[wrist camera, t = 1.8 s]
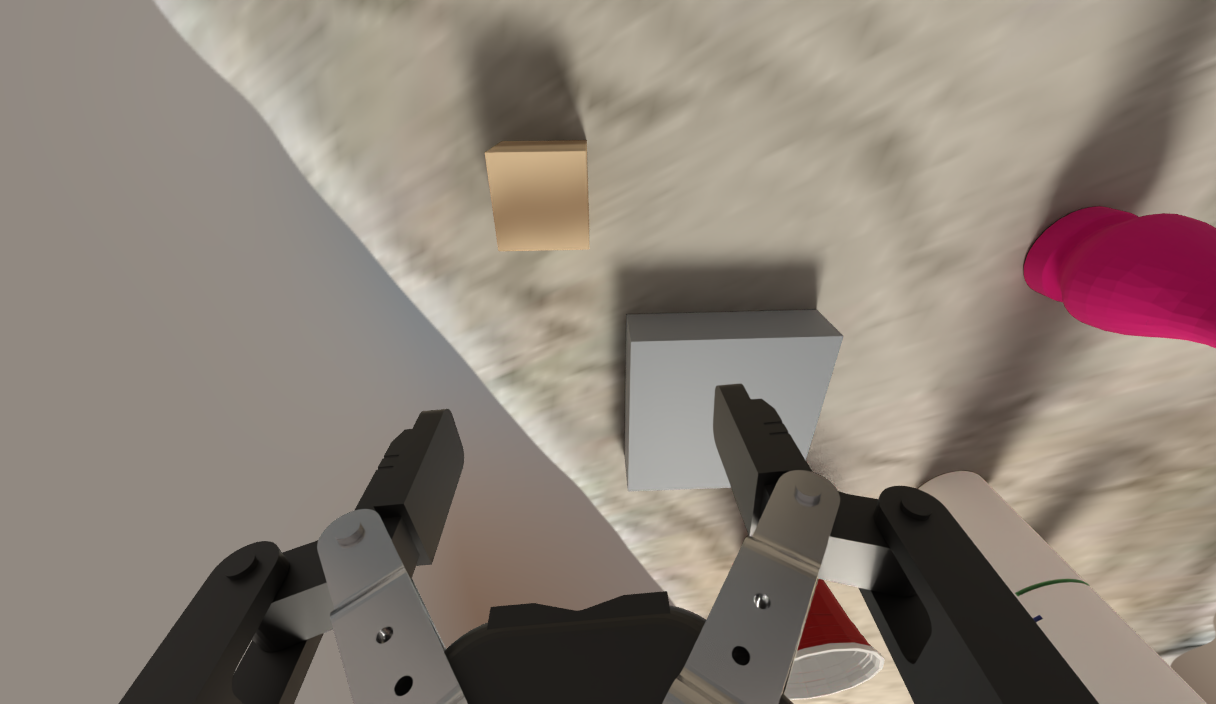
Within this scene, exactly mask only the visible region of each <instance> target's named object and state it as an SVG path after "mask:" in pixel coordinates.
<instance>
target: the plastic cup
mask: <svg viewBox="0 0 1216 704" xmlns="http://www.w3.org/2000/svg"><path fill="white" fill-rule="evenodd" d="M883 664H884V658H883V656H882V655H881V654H880V653H879V652H878V651H877V650H876V649H874V648H873V647H872V646H871V645H870V644H869V643H868V642H867V641H866V639H865V638H864V636H863V635H861V634H860V632H859V631H858V629H857V628H856V626H855V625H854V624H853V623H852V622H851V620H850V619H849V617H848V616H847V614H846V613H845V611H844V610H843V608H842V607H841V605H840V604H839V603H838V601H837V600H836V598H835V597H834V595H833V594H832V592H831V591H830V589H829V588H828V586H827V585H826V583H825V582H824V580H822V579H818V582H817V586H816V589H815V592H814V596H813V599H812V602H811V606H810V609H809V612H808V616H807V619H806V622H805V626H804V629H803V632H802V636H801V639H800V642H799V646H798V649H797V653H796V656H795V660H794V663H793V666H792V670H791V673H790V677H789V680H788V683H787V687H786V690H785V693H784V695H785V696H786V697H787V698H788V699H789V700H796V699H810V698H816V697H821V696H826V695H832V694H835V693H838V692H841V691H844V690H847V689H850V688H853V687H855V686H857V685H859V684H861V683H863V682H865V681H867V680H869V679H871V678H873V677H874V676H875V675H876V674H877V673H878V672H879V671H880V670H881V669H883Z"/></svg>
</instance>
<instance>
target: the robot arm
mask: <svg viewBox="0 0 1216 704" xmlns="http://www.w3.org/2000/svg"><path fill="white" fill-rule="evenodd" d="M713 434H714V440H715V444H716V447H717V450H718V453H719V456H720V458H721V461H722V464H723V466H724V469H725V472H726V475H727V477H728V480H729V483H730V486H731V488H732V491H733V494H734V496H735V499H736V502H737V505H738V507H739V510H740V513H741V516H742V518H743V521H744V524H745V526H746V529H747V532H748V535H749V536H747V537H746V539H745V540H744V542H743V544H742V546H741V548H740V550H739V553H738V555H737V557H736V559H735V561H734V563H733V565H732V567H731V569H730V571H729V574H728V576H727V578H726V580H725V582H724V584H723V586H722V588H721V590H720V593H719V595H718V597H717V599H716V601H715V603H714V605H713V607H712V609H711V611H710V614H709V616H708V618H707V620H706V619H704V618H702V617H701V616H699V615H697V614H695V613H693V612H691V611H688V610H685V609H682V608H679V607H675V606H670V605H669V601H668V594H667V591H665V592H654V593H643V594H633V595H632V594H631V595H623V596H620V597H617V598H615V599H612V600H609V601H606V602H603V603H601V604H598V605H595V606H593V607H590V608H587V609H584V610H580V611H574V610H568V609H563V608H557V607H552V606H546V605H541V604H536V603H531V604H520V605H508V606H497V607H491V609H490V615H489V620H488V623H485V624H483V625H481V626H479V627H477V628H475V629H473V630H471V631H469V632H468V633H466V634H465V635H463V636H462V637H460V638H459V639H458V640H456V641H455V642H454V643H453V644H451V646H449V647H448V648H447V649H446V648H445V646H444V644H443V642H442V640H441V638H440V636H439V634H438V632H437V630H436V627H435V626H434V623H433V621H432V620H431V617H430V615H429V613H428V611H427V609H426V607H425V605H424V602H423V601H422V598H421V596H420V594H419V592H418V590H417V588H416V586H415V584H414V582H413V580H412V575H413V573H414V570H415V567H416V566H419V565H430V564H432V562H433V559H434V556H435V552H436V550H437V547H438V544H439V540H440V537H441V534H442V531H443V528H444V525H445V522H446V519H447V515H448V512H449V509H450V506H451V503H452V499H453V497H454V494H455V490H456V487H457V484H458V481H459V478H460V475H461V471H462V469H463V464H464V451H463V446H462V443H461V440H460V437H459V434H458V431H457V428H456V425H455V422H454V419H453V416H452V413H451V411H450V410H449V409H442V410H431V411H422V412H421V413H420V415H419V417H418V419H417V421H416V423H415V425H414V427H413V429H407V430H404V431H403V432H402V433H401V434H400V435H399V436H398V437H397V438H396V439H395V440H393V441H392V443H391V444H390V446H389V448H388V450H387V452H386V453H385V455H384V459H382V461H381V463H380V464H379V466H378V470H376V472H375V474H374V475H373V477H372V479H371V481H370V483H369V485H368V486H367V488H366V490H365V492H364V494H363V496H362V498H361V499H360V501H359V503H358V505H357V507H356V509H355V510H354V511H352V512H349V513H347V514H345V515H343V516H341V517H339V518H338V519H336V520H335V521H333V522H332V523H331V524H330V525H329V526H328V527H327V528H326V529H325V530H324V532H323V533H322V534H321V536H320V538H319V540H317V541H315V542H312V543H309V544H306V545H303V546H300V547H297V548H295V549H292V550H289V551H286V552H283V553H282V552H281V551H280V549H279V548H278V547H277V545H276V544H274V543H273V542H268V541H262V542H256V543H253V544H250V545H247V546H245V547H243V548H241V549H239V550H237V551H235V552H234V553H232V554H231V555H229V556H228V557H227V558H225V559H224V560H223V561H222V562H221V563H220V564H219V565H218V566H217V567H216V568H215V569H214V570H213V571H212V573H211V574H210V576H209V577H208V578H207V580H206V581H205V582H204V584H203V585H202V587H201V588H200V590H199V591H198V592H197V594H196V595H195V597H194V598H193V599H192V601H191V602H190V604H189V605H188V607H187V608H186V609H185V611H184V612H183V614H182V615H181V616H180V618H179V619H178V621H177V622H176V623H175V625H174V626H173V628H172V629H171V630H170V632H169V633H168V635H167V636H166V638H165V639H164V640H163V642H162V643H161V645H160V646H159V647H158V649H157V650H156V652H155V653H154V654H153V656H152V657H151V659H150V660H149V662H148V663H147V664H146V666H145V667H144V669H143V670H142V671H141V673H140V674H139V676H138V677H137V679H136V680H135V681H134V683H133V684H132V686H131V687H130V688H129V690H128V691H127V693H126V694H125V696H124V697H123V698H122V700H121V701H120V703H119V704H294V702H295V700H296V697H297V695H298V692H299V690H300V688H301V685H302V683H303V681H304V678H305V676H306V674H307V671H308V669H309V667H310V664H311V662H312V659H313V657H314V655H315V652H316V650H317V648H318V645H319V643H320V640H321V638H322V636H323V633H325V632H327V631H330V630H332V629H333V631H334V634H335V638H336V641H337V645H338V649H339V652H340V656H341V660H342V663H343V667H344V670H345V674H346V677H347V681H348V684H349V688H350V692H351V695H352V699H353V703H354V704H793V703H792V702H791V701H790V700H789V699H788V698H787V697H786V696H785V695H784V693H785V690H786V687H787V683H788V680H789V677H790V673H791V670H792V666H793V663H794V660H795V656H796V653H797V649H798V646H799V642H800V639H801V636H802V632H803V629H804V626H805V622H806V619H807V616H808V612H809V609H810V606H811V602H812V599H813V596H814V592H815V589H816V586H817V582H818V579H822V580H827V581H831V582H836V583H840V584H845V585H849V586H854V587H858V588H859V590H860V592H861V594H862V596H863V598H864V600H865V602H866V604H867V606H868V608H869V610H870V613H871V615H872V617H873V619H874V621H875V623H876V625H877V627H878V629H879V631H880V633H881V635H882V637H883V639H884V642H885V644H886V646H887V648H888V650H889V652H890V654H891V656H892V658H893V660H894V662H895V664H896V666H897V669H898V671H899V673H900V675H901V677H902V679H903V681H904V683H905V685H906V687H907V689H908V691H909V693H910V695H911V698H912V700H913V702H914V704H1099V703H1098V701H1097V700H1096V699H1095V698H1094V696H1093V695H1092V694H1091V693H1090V691H1089V690H1088V689H1087V687H1086V686H1085V685H1084V684H1083V682H1082V681H1081V680H1080V678H1079V677H1078V676H1077V675H1076V673H1075V672H1074V671H1073V669H1072V668H1071V667H1070V666H1069V664H1068V663H1067V662H1066V660H1065V659H1064V658H1063V657H1062V655H1061V654H1060V653H1059V652H1058V650H1057V649H1056V648H1055V646H1054V645H1053V644H1052V643H1051V641H1050V640H1049V639H1048V637H1047V636H1046V635H1045V634H1044V632H1043V631H1042V630H1041V628H1040V627H1039V626H1038V625H1037V623H1036V622H1035V621H1034V620H1033V618H1032V617H1031V616H1030V614H1029V613H1028V612H1027V611H1026V609H1025V608H1024V607H1023V605H1022V604H1021V603H1020V602H1019V600H1018V599H1017V598H1016V596H1015V595H1014V594H1013V593H1012V591H1011V590H1010V589H1009V587H1008V586H1007V585H1006V584H1005V582H1004V581H1003V580H1002V579H1001V577H1000V576H999V575H998V573H997V572H996V571H995V570H994V568H993V567H992V566H991V564H990V563H989V562H988V561H987V559H986V558H985V557H984V555H983V554H982V553H981V552H980V550H979V549H978V548H977V546H976V545H975V544H974V543H973V541H972V540H971V539H970V538H969V536H968V535H967V534H966V532H965V531H964V530H963V529H962V527H961V526H960V525H959V523H958V522H957V521H956V520H955V518H954V517H953V516H952V514H951V513H950V512H949V511H948V509H947V508H946V507H945V506H944V505H943V504H942V503H941V502H940V501H939V500H937V499H936V498H935V497H933V496H931V495H930V494H928V493H926V492H924V491H922V490H919V489H916V488H912V487H907V486H892V487H889V488H887V489H885V490H884V491H883V492H882V493H881V494H880V497H879V499H873V498H867V497H861V496H855V495H850V494H845V493H842V492H839V491H837V489H836V487H835V486H834V485H833V484H832V483H831V482H830V481H829V480H827V479H826V478H825V477H823V476H821V475H819V474H816V473H814V472H812V470H811V469H810V467H809V465H808V464H807V462H806V460H805V459H804V457H803V455H802V454H801V452H800V450H799V448H798V447H797V445H796V443H795V442H794V440H793V438H792V437H791V435H790V434H789V433H788V430H787V428H786V427H785V425H784V424H783V423H782V420H781V418H780V416H779V415H778V413H777V411H776V410H775V408H773V407H772V406H771V405H769V404H768V403H767V402H765V401H764V400H763V399H762V398H761V399H750V397H749V395H748V393H747V391H746V389H745V387H744V386H743V384H741V383H740V384H728V385H717V386H716V388H715V397H714V414H713ZM251 640H252V642H251ZM250 642H251V644H250ZM249 644H250V646H249V648H248V650H247V651H246V649H247V647H248V645H249ZM245 651H246V653H245ZM244 653H245V655H244V657H243V659H242V660H241V658H242V656H243V654H244ZM240 660H241V662H240ZM239 662H240V664H239ZM238 664H239V666H238V668H237V670H236V671H235V669H236V667H237V665H238ZM234 672H235V673H234Z"/></svg>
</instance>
